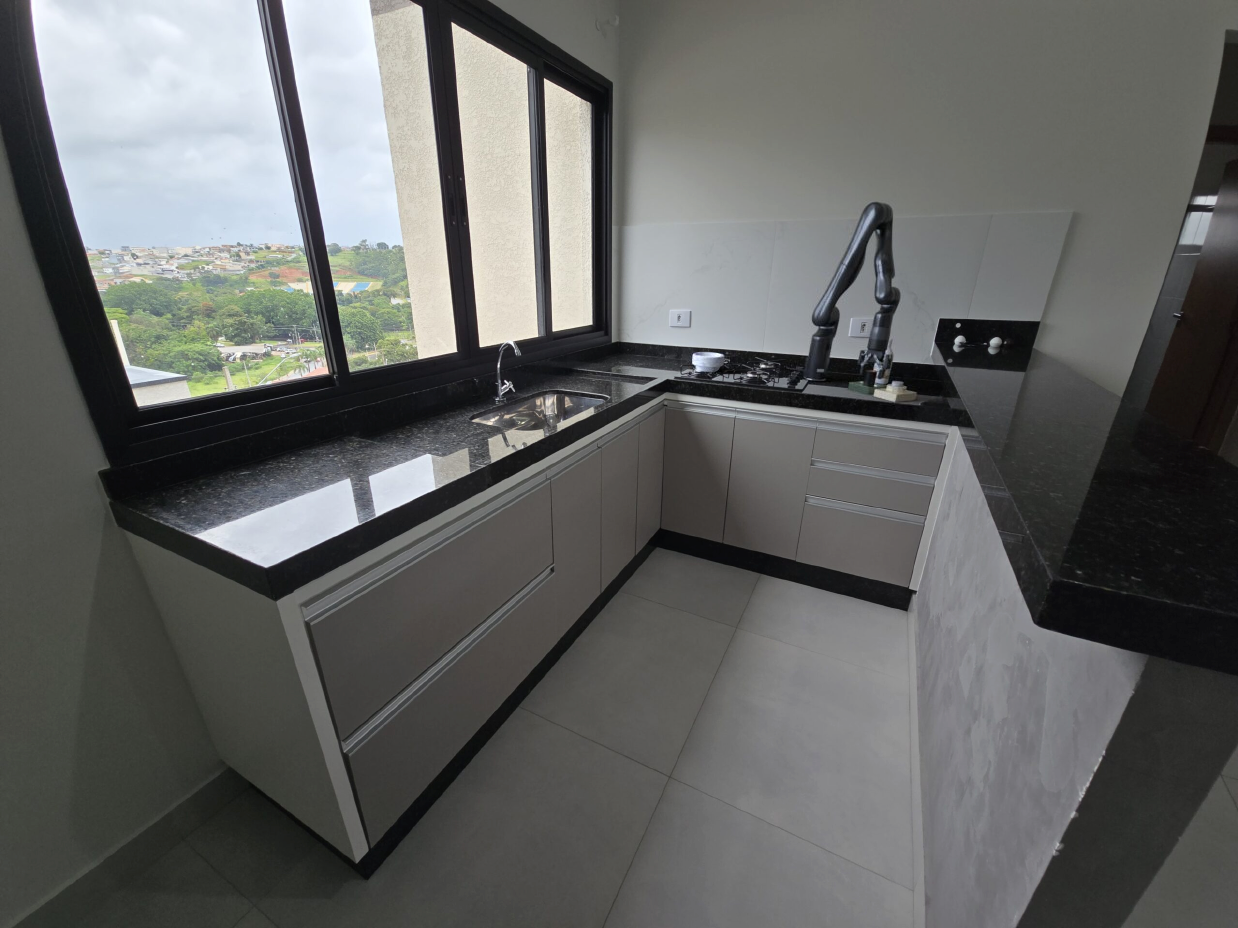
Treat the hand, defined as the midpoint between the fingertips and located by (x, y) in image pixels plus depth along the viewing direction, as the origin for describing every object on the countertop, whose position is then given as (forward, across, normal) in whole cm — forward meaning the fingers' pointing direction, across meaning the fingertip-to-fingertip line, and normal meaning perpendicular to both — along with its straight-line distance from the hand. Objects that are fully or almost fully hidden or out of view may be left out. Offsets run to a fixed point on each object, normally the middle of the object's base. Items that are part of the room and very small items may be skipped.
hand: (871, 377), depth 214 cm
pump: (+2, -13, 0) cm, 13 cm away
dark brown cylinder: (+3, 0, 0) cm, 3 cm away
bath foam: (+6, +11, -21) cm, 25 cm away
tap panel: (+6, 0, 0) cm, 6 cm away
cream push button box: (+6, -13, 0) cm, 14 cm away
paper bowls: (+5, +57, +43) cm, 72 cm away
